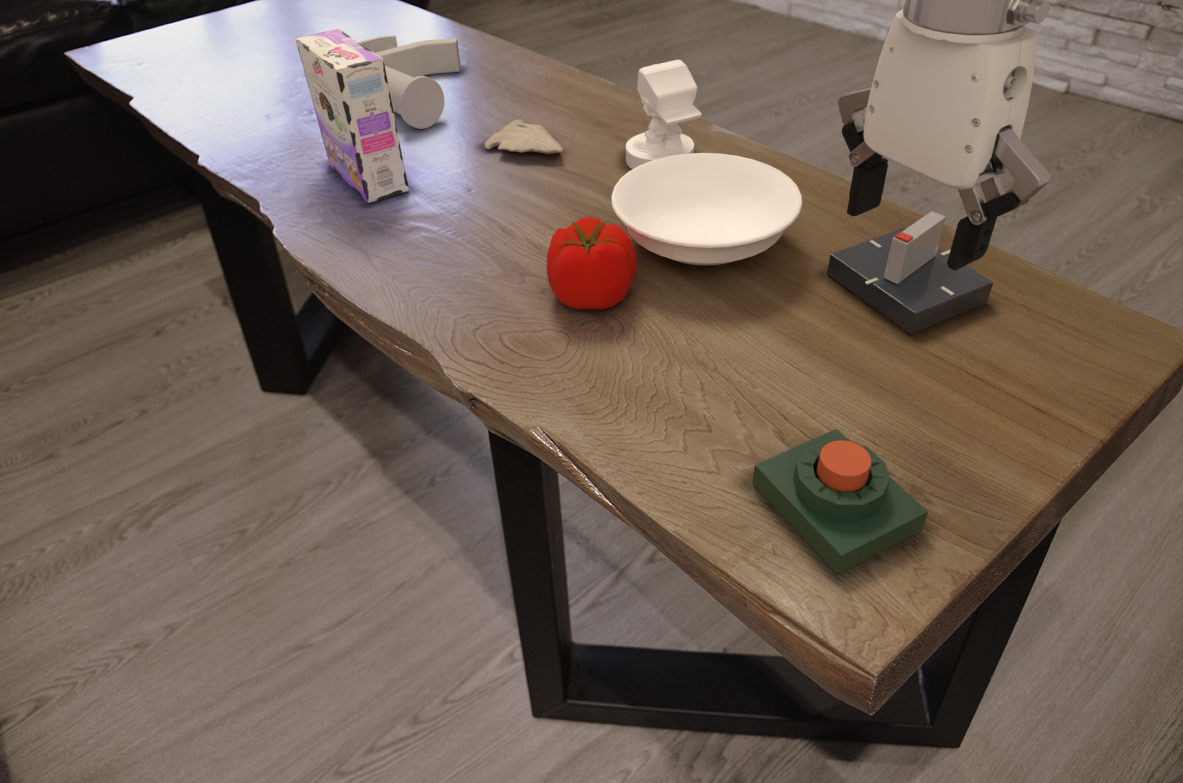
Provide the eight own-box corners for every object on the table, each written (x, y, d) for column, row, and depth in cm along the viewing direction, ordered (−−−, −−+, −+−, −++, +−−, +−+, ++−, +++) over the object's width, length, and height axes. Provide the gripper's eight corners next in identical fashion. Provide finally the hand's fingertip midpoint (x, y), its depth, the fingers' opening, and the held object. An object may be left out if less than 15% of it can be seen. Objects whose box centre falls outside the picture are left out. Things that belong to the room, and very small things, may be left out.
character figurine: (672, 139, 113) (675, 48, 105) (710, 167, 107) (716, 72, 99) (614, 154, 110) (612, 61, 102) (649, 184, 104) (650, 88, 96)
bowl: (816, 222, 96) (824, 170, 92) (763, 318, 83) (769, 262, 78) (654, 190, 103) (655, 140, 99) (581, 274, 90) (578, 221, 85)
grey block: (921, 250, 86) (932, 208, 83) (935, 256, 85) (947, 214, 82) (883, 278, 83) (892, 235, 79) (897, 284, 82) (908, 242, 78)
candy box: (411, 191, 105) (385, 57, 94) (367, 206, 102) (334, 70, 92) (368, 152, 114) (340, 25, 103) (327, 164, 111) (293, 36, 100)
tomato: (582, 263, 91) (579, 200, 86) (652, 288, 87) (652, 224, 82) (527, 306, 86) (520, 241, 81) (599, 335, 82) (596, 269, 77)
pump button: (877, 480, 61) (882, 464, 60) (839, 499, 60) (842, 482, 59) (844, 450, 64) (848, 433, 63) (806, 467, 63) (809, 451, 61)
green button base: (922, 531, 62) (934, 494, 60) (836, 575, 60) (845, 539, 57) (832, 447, 69) (840, 411, 66) (752, 484, 66) (756, 448, 64)
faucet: (397, 84, 113) (308, 45, 127) (406, 134, 117) (319, 91, 132) (515, 50, 123) (421, 18, 138) (519, 97, 127) (427, 61, 142)
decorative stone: (522, 134, 118) (517, 113, 116) (585, 145, 111) (581, 123, 109) (479, 158, 114) (474, 136, 112) (542, 171, 107) (537, 149, 105)
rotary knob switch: (991, 301, 83) (999, 278, 82) (905, 336, 80) (911, 314, 78) (904, 245, 91) (909, 224, 90) (821, 276, 88) (825, 253, 86)
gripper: (1132, 21, 50) (1041, 268, 61) (900, -39, 61) (860, 179, 72) (1053, 51, 47) (974, 305, 58) (825, -18, 58) (795, 206, 69)
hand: (910, 235), depth 65 cm, fingers open, 9 cm apart
